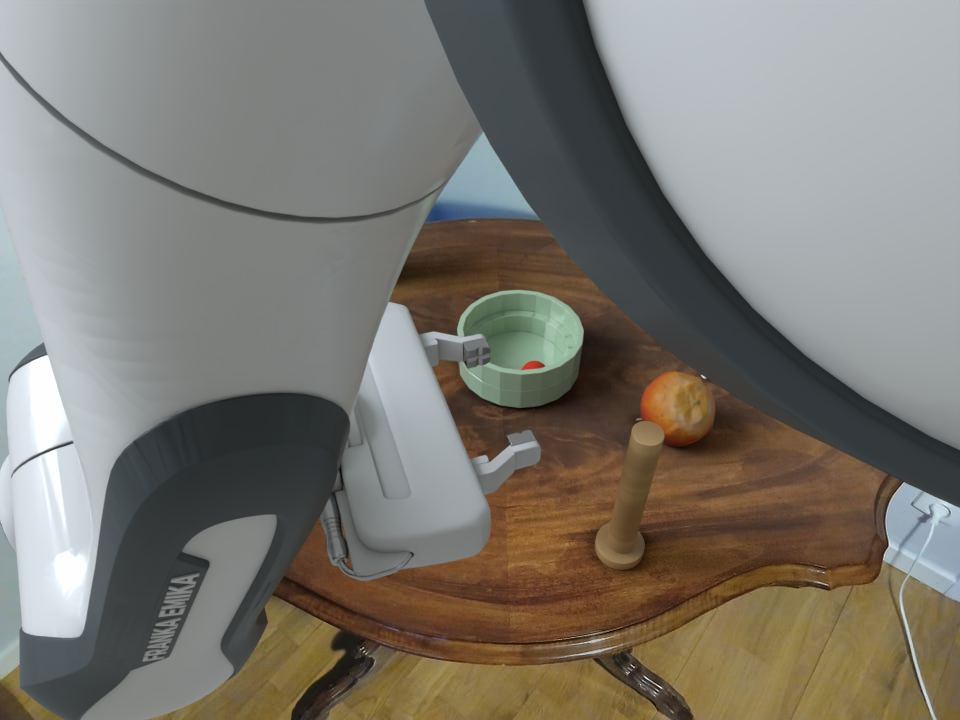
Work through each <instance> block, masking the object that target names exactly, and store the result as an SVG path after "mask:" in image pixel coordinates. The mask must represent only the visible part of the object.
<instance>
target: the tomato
mask: <svg viewBox="0 0 960 720" xmlns="http://www.w3.org/2000/svg"><path fill="white" fill-rule="evenodd" d="M543 367H546V366H545V365H544V364H543V363H541V362H539V361H530V362H528V363H526V364H525V365H524V366H523V368H522V370H528V369H539V368H543Z"/></svg>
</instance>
